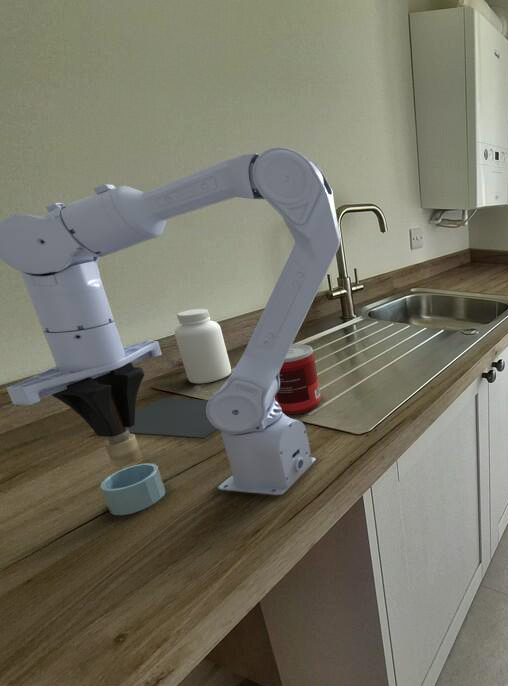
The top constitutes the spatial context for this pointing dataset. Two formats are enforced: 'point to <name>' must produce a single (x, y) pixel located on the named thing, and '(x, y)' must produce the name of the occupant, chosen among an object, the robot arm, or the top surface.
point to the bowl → (133, 489)
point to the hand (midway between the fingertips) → (116, 430)
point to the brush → (121, 441)
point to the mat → (174, 419)
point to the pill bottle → (201, 347)
